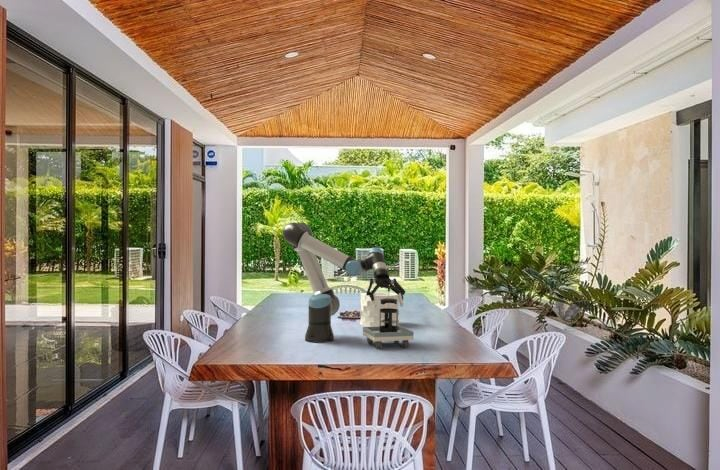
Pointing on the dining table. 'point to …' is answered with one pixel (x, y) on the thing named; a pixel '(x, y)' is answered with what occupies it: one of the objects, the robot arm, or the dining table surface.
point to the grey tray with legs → (387, 335)
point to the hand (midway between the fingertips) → (389, 305)
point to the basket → (376, 309)
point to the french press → (388, 315)
